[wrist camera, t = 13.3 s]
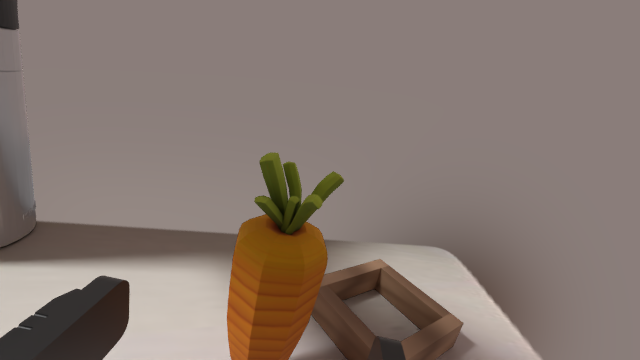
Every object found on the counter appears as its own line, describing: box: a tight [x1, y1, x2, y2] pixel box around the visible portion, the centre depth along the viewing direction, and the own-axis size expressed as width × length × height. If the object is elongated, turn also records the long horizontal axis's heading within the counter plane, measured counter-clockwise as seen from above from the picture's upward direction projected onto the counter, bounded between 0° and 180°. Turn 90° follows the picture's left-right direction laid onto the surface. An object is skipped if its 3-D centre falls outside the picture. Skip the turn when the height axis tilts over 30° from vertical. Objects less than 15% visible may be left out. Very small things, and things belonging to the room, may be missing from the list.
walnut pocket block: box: [311, 259, 463, 360], centre depth 25 cm, size 9×9×2 cm
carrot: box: [227, 153, 344, 360], centre depth 16 cm, size 5×5×15 cm
